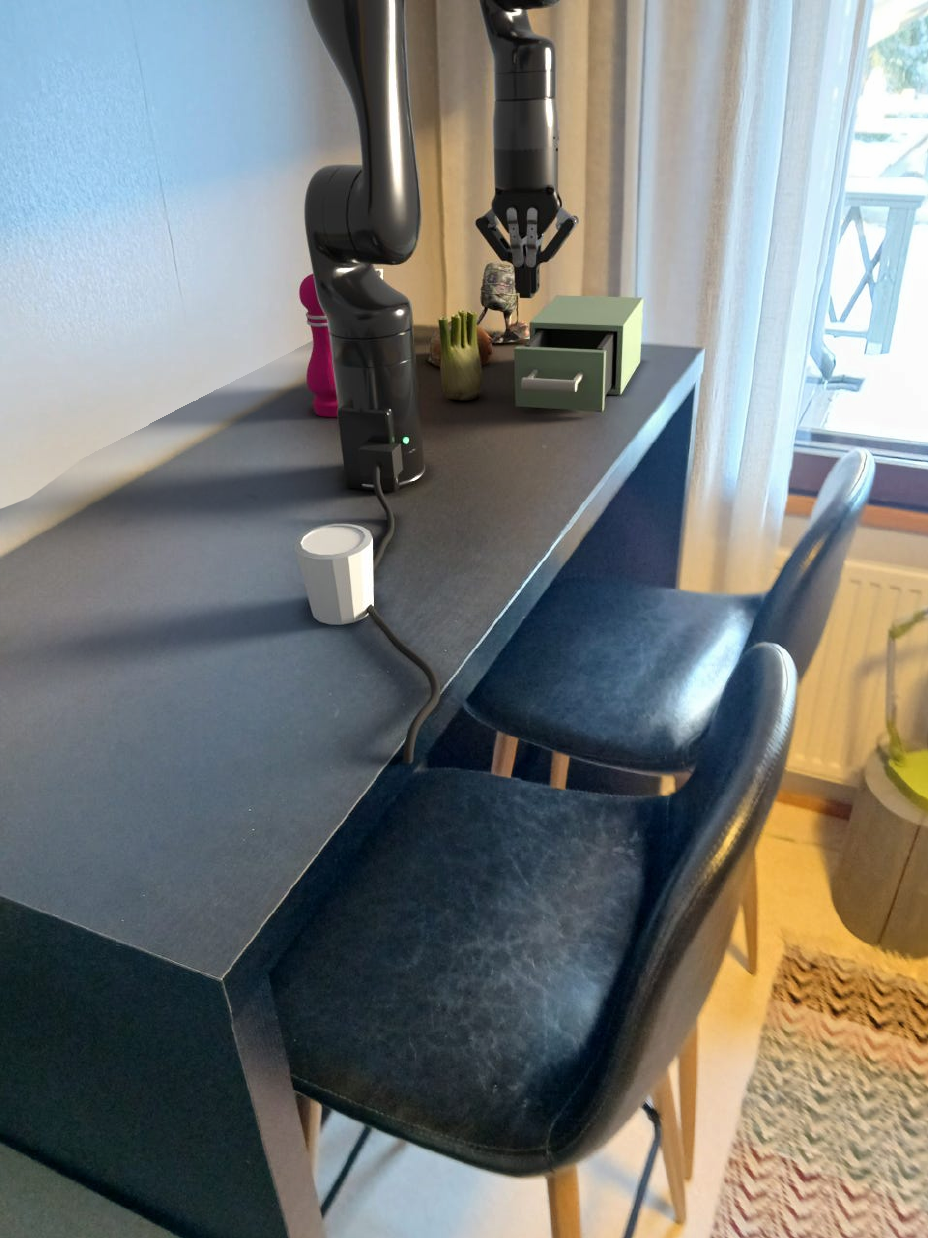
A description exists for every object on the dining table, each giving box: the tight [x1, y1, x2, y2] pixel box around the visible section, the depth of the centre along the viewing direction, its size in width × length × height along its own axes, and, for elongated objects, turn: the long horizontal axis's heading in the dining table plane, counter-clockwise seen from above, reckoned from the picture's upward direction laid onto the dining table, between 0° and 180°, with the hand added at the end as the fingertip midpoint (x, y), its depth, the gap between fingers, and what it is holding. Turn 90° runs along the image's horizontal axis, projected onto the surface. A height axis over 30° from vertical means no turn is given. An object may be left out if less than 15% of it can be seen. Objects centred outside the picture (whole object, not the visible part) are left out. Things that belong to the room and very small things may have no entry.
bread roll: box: [428, 320, 494, 368], centre depth 147 cm, size 10×10×8 cm
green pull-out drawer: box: [513, 328, 618, 413], centre depth 126 cm, size 20×12×8 cm, turn 161°
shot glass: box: [293, 523, 375, 626], centre depth 83 cm, size 7×7×7 cm
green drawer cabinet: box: [528, 294, 644, 396], centre depth 136 cm, size 16×13×10 cm
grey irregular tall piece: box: [477, 260, 530, 344], centre depth 152 cm, size 8×11×20 cm
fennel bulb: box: [437, 310, 483, 401], centre depth 129 cm, size 6×5×12 cm
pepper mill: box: [298, 273, 338, 418], centre depth 126 cm, size 7×7×20 cm
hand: (527, 296), depth 117 cm, fingers closed
